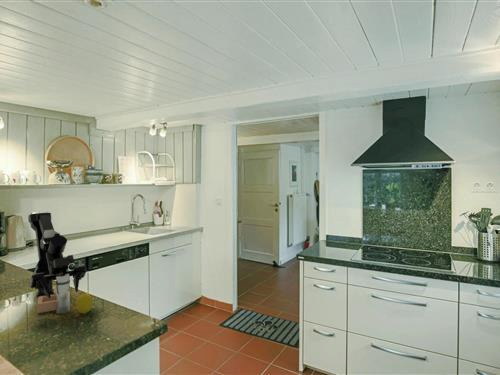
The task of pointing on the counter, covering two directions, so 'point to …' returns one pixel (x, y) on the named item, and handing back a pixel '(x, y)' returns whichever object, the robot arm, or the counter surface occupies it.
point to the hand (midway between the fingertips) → (63, 294)
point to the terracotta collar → (46, 304)
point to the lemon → (84, 303)
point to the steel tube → (62, 293)
